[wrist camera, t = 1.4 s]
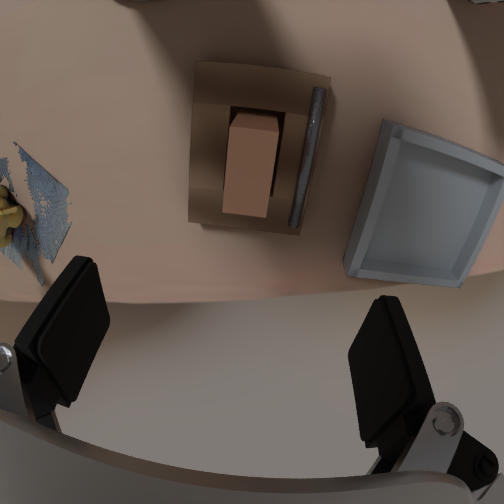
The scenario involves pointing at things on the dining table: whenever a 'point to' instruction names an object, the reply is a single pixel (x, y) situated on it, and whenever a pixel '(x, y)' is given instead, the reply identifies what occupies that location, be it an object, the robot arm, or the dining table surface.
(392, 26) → the dining table surface
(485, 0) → the candy bar box
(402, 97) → the dining table surface
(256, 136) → the tan rectangular block
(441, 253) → the tray
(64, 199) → the stuffed giraffe
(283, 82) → the brown piece
